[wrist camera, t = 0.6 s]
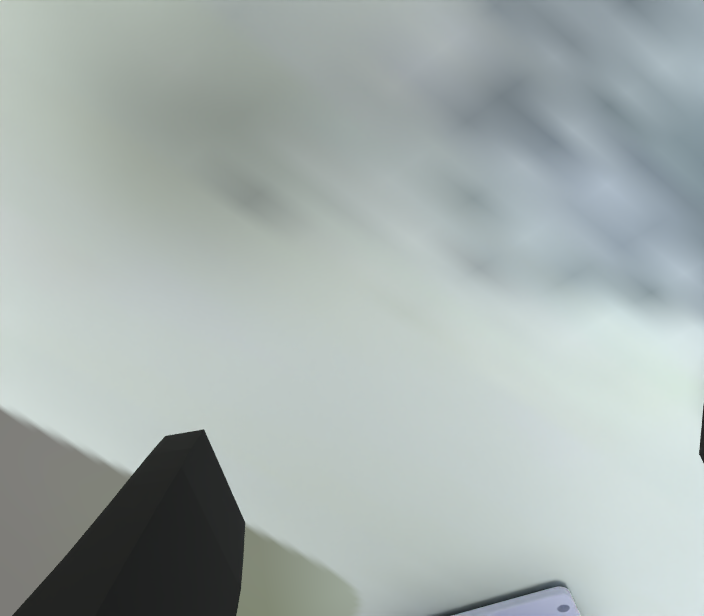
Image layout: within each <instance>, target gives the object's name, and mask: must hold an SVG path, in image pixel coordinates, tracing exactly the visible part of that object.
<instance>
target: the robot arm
mask: <svg viewBox="0 0 704 616" xmlns="http://www.w3.org/2000/svg"><path fill="white" fill-rule="evenodd" d="M699 455H700V457H701V459H702V461H703V463H704V406H703V417H702V428H701V439H700V450H699ZM244 534H245V521H244V519H243V517H242V515H241V512H240V510H239V508H238V505H237V503H236V501H235V499H234V496H233V494H232V492H231V490H230V487H229V485H228V483H227V480H226V478H225V476H224V474H223V471H222V469H221V467H220V465H219V462H218V460H217V458H216V456H215V453H214V451H213V449H212V446H211V444H210V442H209V440H208V437H207V435H206V433H205V431H204V430H199V431H193V432H187V433H181V434H175V435H169V436H165V437H164V438H163V439H162V440H161V442H160V443H159V444H158V445H157V446H156V447H155V448H154V450H153V451H152V452H151V453H150V454H149V455H148V457H147V458H146V459H145V460H144V462H143V463H142V464H141V465H140V466H139V468H138V469H137V470H136V471H135V473H134V474H133V475H132V476H131V477H130V479H129V480H128V481H127V482H126V484H125V485H124V486H123V487H122V489H121V490H120V491H119V492H118V493H117V495H116V496H115V497H114V498H113V500H112V501H111V502H110V504H109V505H108V506H107V507H106V508H105V509H104V511H103V512H102V513H101V514H100V516H99V517H98V518H97V519H96V520H95V521H94V523H93V524H92V525H91V526H90V528H89V529H88V530H87V531H86V532H85V533H84V535H83V536H82V537H81V538H80V539H79V541H78V542H77V543H76V544H75V545H74V547H73V548H72V549H71V550H70V551H69V553H68V554H67V555H66V556H65V557H64V559H63V560H62V561H61V562H60V563H59V564H58V565H57V566H56V567H55V569H54V570H53V571H52V572H51V573H50V574H49V575H48V576H47V577H46V579H45V580H44V581H43V582H42V583H41V584H40V585H39V587H38V588H37V589H36V590H35V591H34V592H33V593H32V594H31V595H30V597H29V598H28V599H27V600H26V601H25V602H24V603H23V604H22V605H21V607H20V608H19V609H18V610H17V611H16V612H15V613H14V614H13V615H12V616H236V613H237V608H238V602H239V596H240V591H241V580H242V567H243V552H244ZM452 616H581V615H580V612H579V610H578V608H577V606H576V604H575V602H574V600H573V597H572V595H571V593H570V591H569V590H568V589H567V588H565V587H560V586H558V587H553V588H549V589H546V590H542V591H539V592H535V593H531V594H528V595H524V596H520V597H517V598H513V599H510V600H506V601H502V602H499V603H495V604H492V605H488V606H484V607H481V608H477V609H473V610H470V611H466V612H463V613H459V614H455V615H452Z"/></svg>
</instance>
